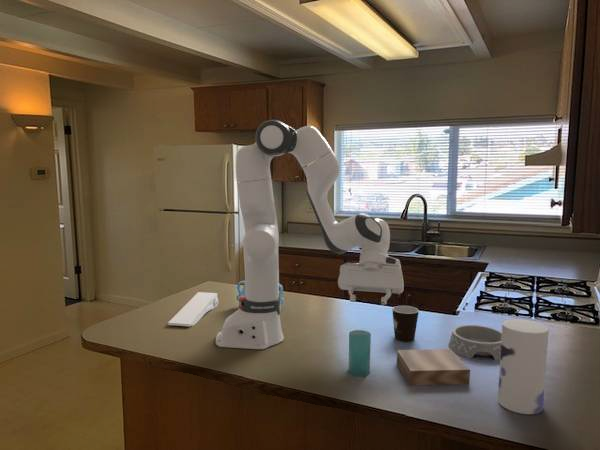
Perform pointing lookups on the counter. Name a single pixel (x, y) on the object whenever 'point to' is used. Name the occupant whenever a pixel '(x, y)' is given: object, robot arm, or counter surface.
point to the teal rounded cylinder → (359, 352)
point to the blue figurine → (244, 291)
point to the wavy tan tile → (432, 367)
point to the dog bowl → (476, 341)
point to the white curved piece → (195, 309)
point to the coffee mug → (405, 322)
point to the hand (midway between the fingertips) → (367, 302)
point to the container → (522, 366)
